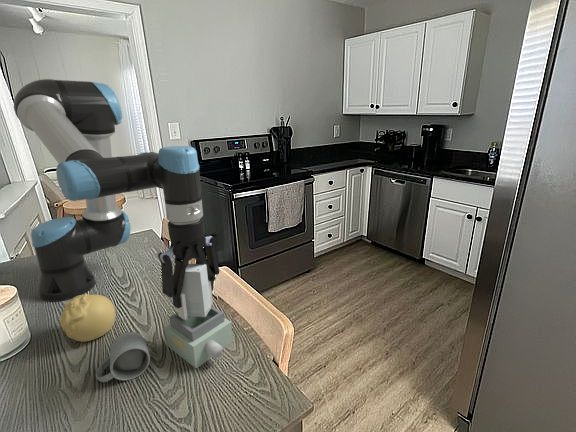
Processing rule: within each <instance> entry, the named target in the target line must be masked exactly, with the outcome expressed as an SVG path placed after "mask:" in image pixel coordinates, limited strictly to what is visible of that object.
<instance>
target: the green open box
mask: <svg viewBox="0 0 576 432" xmlns="http://www.w3.org/2000/svg"><path fill="white" fill-rule="evenodd" d="M168 318H169V321H168V322H167V323H165V324H164V325H163V328H164V336H165V342H166V346H167V347H168V348H169V349H170V350H172V351H173V353H176V354H177V355H178V356H179V357H181V358H182V359H183V360H184V361H186V363H188V364H189V365H190V366H192V367H193V368H195V369H198V368H199V367H201V366H202V365H204V363H206V362H208V361H209V360H211V358H212V359H218V358H219V357H221V354H222V353H223V350H224V349H225V348H227V347H228V346H230V344H232V343H234V341H233V325H232V321H231V320H229V319H227V318H226V317H225V313H224V312H223V311H221V310H219V309H218V308H216V307H214V306H213V305H211V309H210V310H209V312H208V314H207V315H206V317H195V316H188V319H187V320H184V319H182V318H181V317H179V316H178V311H177V312H175V313H174V314H172V315H170V316H169V317H168Z"/></svg>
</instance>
